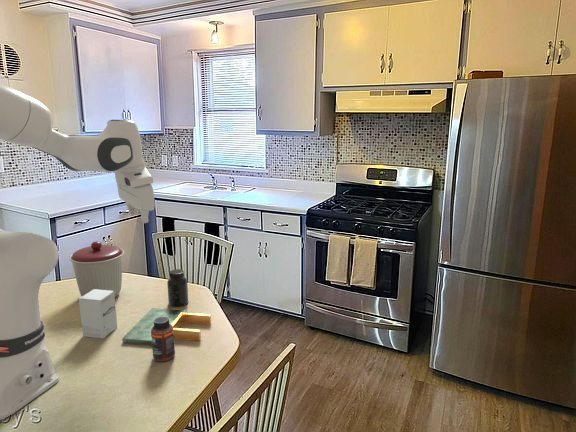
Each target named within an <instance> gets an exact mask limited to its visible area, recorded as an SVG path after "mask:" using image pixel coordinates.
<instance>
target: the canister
mask: <svg viewBox="0 0 576 432" xmlns="http://www.w3.org/2000/svg"><path fill="white" fill-rule="evenodd" d="M124 254H125V250H124V249H123V248H121V247H118V246H116V245H112V244H102V242H101V241H98V240H97V241H93V242H92V243H91V244H90V246H85V247H83V248H80V249H78V250H76V251H74V252H73V253H72V254H70V255H69V256H68V257H69V258H68V260H69V261H70V262H71V264H72V268H73V272H74V276H75V279H76V284H77V287H78V291H79V294H80V297H82V296H84V295H85V294H87V293H89V292H90V291H92V290H93V289H98V290H110V291H114V296H115V298H116V297H118V295H119V294H120V292H121V290H122V282H123V256H124Z"/></svg>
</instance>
